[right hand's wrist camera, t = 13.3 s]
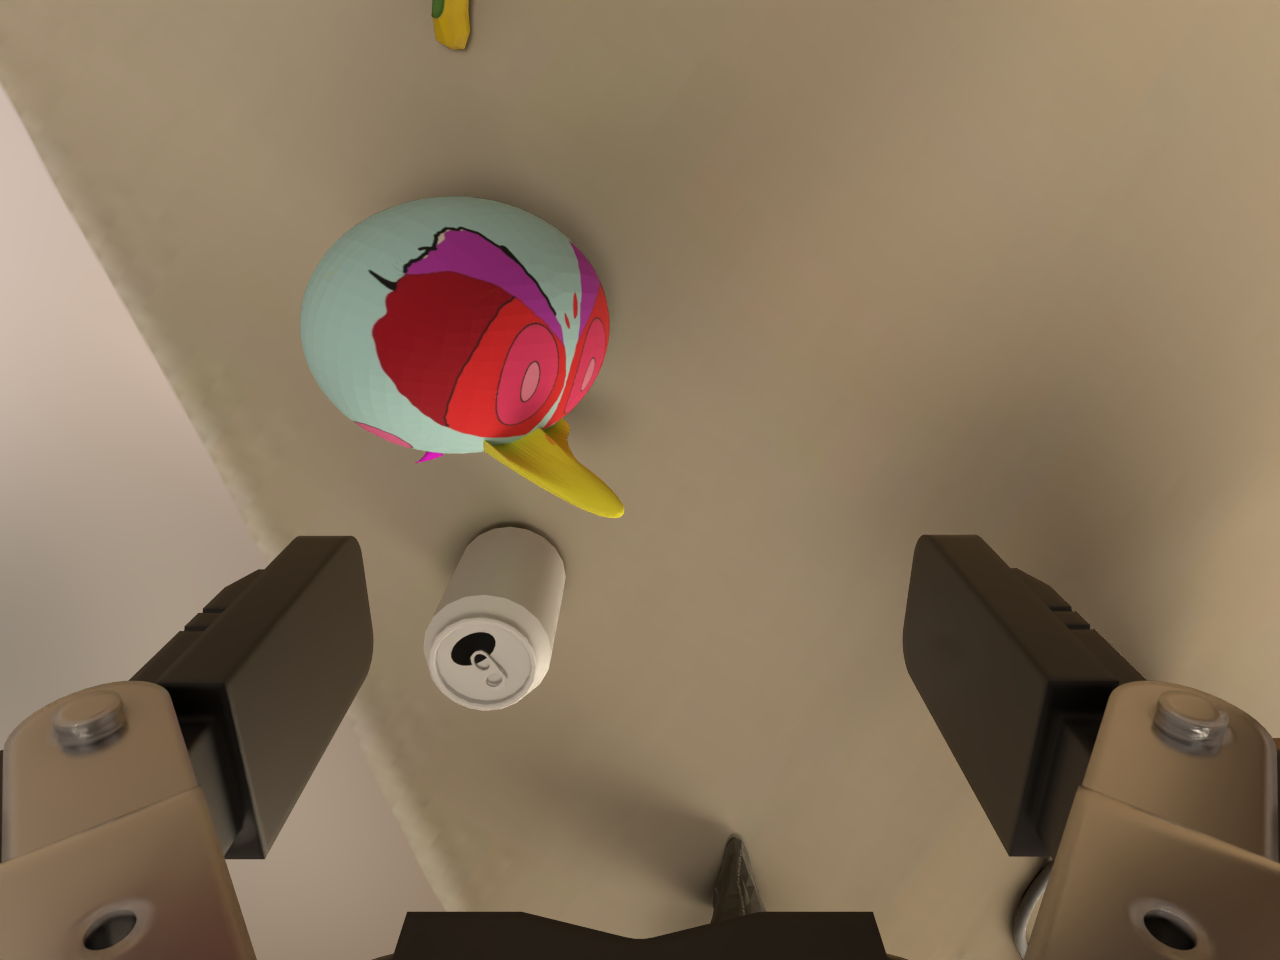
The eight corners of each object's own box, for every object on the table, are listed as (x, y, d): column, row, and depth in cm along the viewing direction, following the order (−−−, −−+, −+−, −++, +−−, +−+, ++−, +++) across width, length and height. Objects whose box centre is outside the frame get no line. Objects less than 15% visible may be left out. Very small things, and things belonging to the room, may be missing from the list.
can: (523, 501, 53) (492, 586, 42) (587, 581, 55) (574, 682, 44) (439, 557, 55) (387, 653, 43) (505, 632, 57) (471, 742, 46)
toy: (472, 641, 32) (566, 302, 26) (220, 441, 39) (246, 137, 33) (682, 528, 47) (776, 293, 40) (471, 396, 54) (522, 179, 48)
